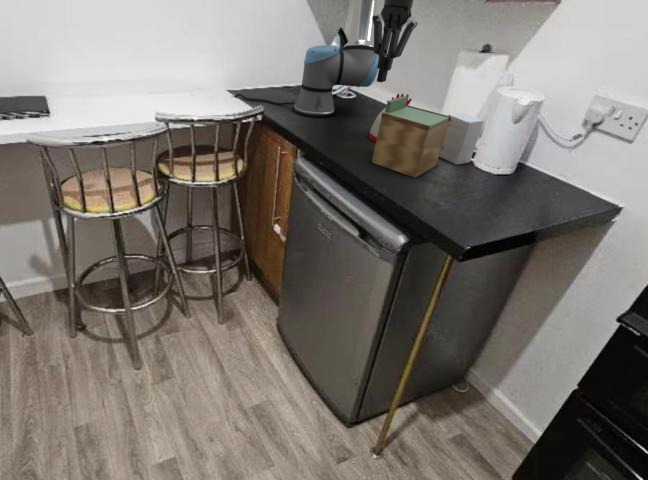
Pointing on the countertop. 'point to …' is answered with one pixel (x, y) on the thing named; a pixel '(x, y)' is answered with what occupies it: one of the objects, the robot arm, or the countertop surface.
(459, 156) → the small box
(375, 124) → the white toy chicken
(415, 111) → the lid
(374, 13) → the robot arm
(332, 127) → the countertop surface
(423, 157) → the case
